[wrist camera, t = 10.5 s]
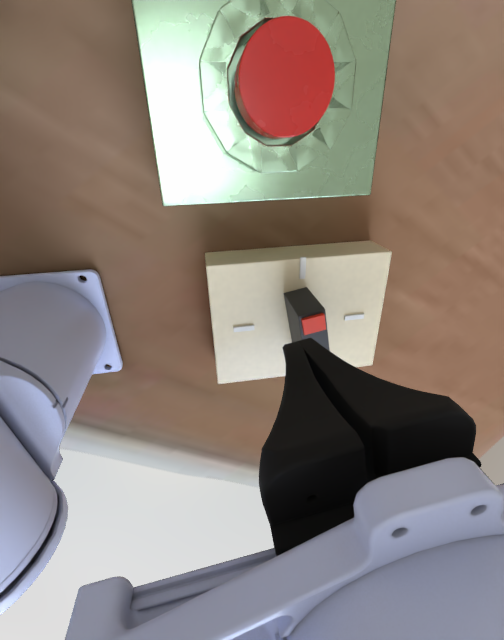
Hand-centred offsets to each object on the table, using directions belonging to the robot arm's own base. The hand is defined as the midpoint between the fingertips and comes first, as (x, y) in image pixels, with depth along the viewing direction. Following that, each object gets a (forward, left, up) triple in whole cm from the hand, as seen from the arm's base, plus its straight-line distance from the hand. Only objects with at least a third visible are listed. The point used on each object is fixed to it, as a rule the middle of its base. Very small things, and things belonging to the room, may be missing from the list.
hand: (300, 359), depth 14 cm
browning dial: (+2, -2, -7) cm, 8 cm away
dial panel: (+2, -2, -10) cm, 11 cm away
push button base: (0, +11, -10) cm, 15 cm away
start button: (0, +11, -6) cm, 12 cm away
